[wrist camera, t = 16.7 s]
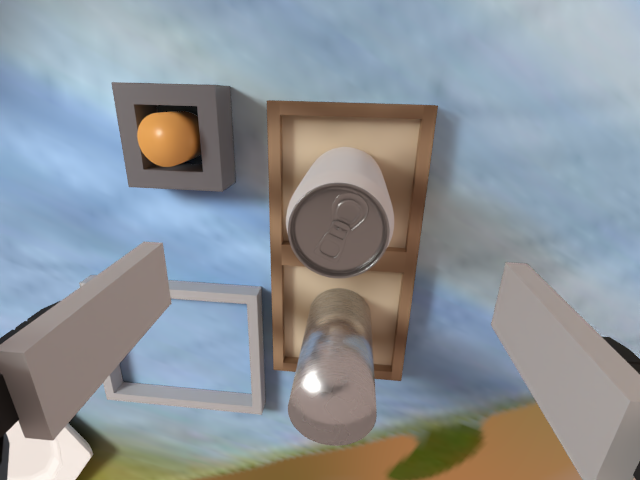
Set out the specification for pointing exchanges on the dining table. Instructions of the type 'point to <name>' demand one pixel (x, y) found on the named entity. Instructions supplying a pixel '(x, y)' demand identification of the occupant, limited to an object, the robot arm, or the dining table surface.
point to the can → (340, 214)
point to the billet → (335, 371)
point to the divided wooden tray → (407, 201)
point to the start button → (170, 137)
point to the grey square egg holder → (213, 130)
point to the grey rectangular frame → (202, 397)
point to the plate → (47, 455)
